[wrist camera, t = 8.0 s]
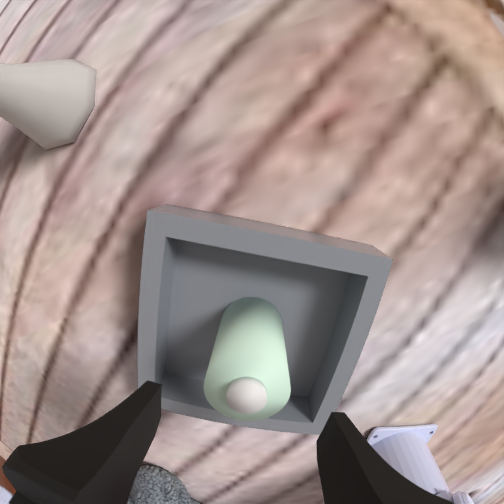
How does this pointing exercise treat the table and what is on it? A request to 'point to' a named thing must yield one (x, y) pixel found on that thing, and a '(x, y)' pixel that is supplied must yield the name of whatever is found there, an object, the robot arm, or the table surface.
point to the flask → (47, 99)
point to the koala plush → (158, 488)
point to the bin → (253, 285)
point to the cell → (248, 362)
